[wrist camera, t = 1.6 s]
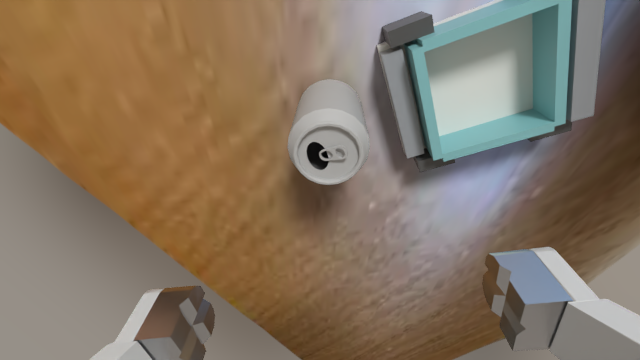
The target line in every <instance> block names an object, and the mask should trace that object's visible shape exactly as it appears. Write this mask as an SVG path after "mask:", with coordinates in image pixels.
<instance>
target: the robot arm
mask: <svg viewBox="0 0 640 360" xmlns="http://www.w3.org/2000/svg"><path fill="white" fill-rule="evenodd" d="M485 265H486V266H487V268H488V271H487V272H486V273H485V274H484V275H483V283H482V285H483V291H484V295H485V298H486V301H487V303H488V305H489V307H490V309H491V311H493V312H494V313H496V314H497V315H499V316H500V317H501V321H500V328H501V330H502V332H503V334H504V335H505V337H506V339H507V341H508V343H509V345H510V347H511V349H512V350H513V351H520V350H540V349H550V352H551V353H553V354H554V355H555V356H556V357H557V358H558V359H560V360H640V316H639V315H638V314H636V313H634V312H632V311H630V310H628V309H626V308H624V307H622V306H620V305H618V304H616V303H614V302H612V301H610V300H608V299H599V298H598V297H597V296H596V294H595V293H594V292H593V291H592V290H591V289H590V288H589V287H588V286H587V285H586V283H585V282H584V281H583V280H582V279H581V278H580V277H579V276H578V275H577V274H576V272H575V271H574V270H573V269H572V268H571V267H570V266H569V265H568V264H567V263H566V261H565V260H564V259H563V258H562V257H561V256H560V255H559V254H558V253H557V252H556V250H555V249H553V248H551V247H543V248H534V249H528V250H527V249H523V250H515V251H506V252H498V253H490V254H488V255H487V257H486V261H485ZM204 294H205V292H204V291H203V289H202V288H201V286H186V287H174V288H164V289H153V290H149V291H147V292H146V293H145V294H144V295H143V297H142V298H141V299H140V301H139V303H138V305H137V306H136V308H135V309H134V311H133V313H132V314H131V316H130V317H129V319H128V321H127V322H126V324H125V326H124V327H123V329H122V331H121V333H120V334H119V336H118V338H117V339H116V340H115V342H114V343H111V344H108V345H107V346H105V347H104V348H103V349H102V350H101V351H99V352H98V353H97V354H96V355H94V356H93V357H92V358H91V359H90V360H203V358H204V355H205V352H206V350H205V347H204V342H206V340H207V339H208V338H209V337H210V336H211V334H212V331H213V328H214V319H215V314H214V310H213V307H212V305H211V303H210V302H208V301H206V300H205V299H203V297H204Z"/></svg>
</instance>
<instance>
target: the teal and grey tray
mask: <svg viewBox="0 0 640 360" xmlns="http://www.w3.org/2000/svg"><path fill="white" fill-rule="evenodd" d="M605 1H606V0H494V1H491V2H489V3H486V4H483V5H481V6H478V7H476V8H473V9H470V10H468V11H465V12H462V13H460V14H457V15H454V16H452V17H449V18H446V19H444V20H441V21H439V22H436V23H433V19H432V15H430V14H427V13H424V12H419V13H416V14H413V15H411V16H408V17H406V18H403V19H401V20H398V21H396V22H393V23H390V24H388V25H385V26H383V27H382V29H383V33H384V37H385V41H386V42H383V43H380V44H378V45H376V46H377V50H378V54H379V58H380V62H381V66H382V70H383V74H384V77H385V81H386V85H387V89H388V93H389V97H390V101H391V105H392V109H393V113H394V117H395V121H396V125H397V129H398V133H399V137H400V141H401V144H402V148H403V151H404V153H405V154H406V157H407V158H411V157H413V158H414V160H415V162H416V164H417V167H418V169H419V171H420V172H423V171H426V170H430V169H433V168H437V167H441V166H444V165H448V164H451V163H455V159H456V158H459V157H463V156H466V155H470V154H474V153H477V152H481V151H484V150H488V149H491V148H495V147H499V146H502V145H506V144H509V143H513V142H516V141H520V140H524V139H528V140H529V141H530V142H531V141H534V140H538V139H542V138H545V137H549V136H552V135H556V134H560V133H563V132H567V131H571V127H572V121H576V120H580V119H583V118H587V117H590V116H594V107H595V98H596V88H597V78H598V69H599V59H600V50H601V40H602V30H603V21H604V11H605Z"/></svg>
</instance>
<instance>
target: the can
mask: <svg viewBox="0 0 640 360" xmlns="http://www.w3.org/2000/svg"><path fill="white" fill-rule="evenodd" d="M369 150H370V145H369V136H368V131H367V127H366V122H365V118H364V114H363V109H362V105H361V101H360V99H359V97H358V95H357V93H356V92H355V91H354V90H353V89H352V88H351V87H350V86H349V85H347V84H346V83H344V82H342V81H338V80H332V79H328V80H321V81H318V82H316V83H314V84H312V85H310V86H309V87H308V88H307V90H306V91H305V92H304V93H303V94H302V97H301V99H300V101H299V103H298V107H297V110H296V114H295V117H294V120H293V124H292V127H291V130H290V134H289V139H288V151H289V155H290V159H291V160H292V162H293V164H294V165H295V167H296V168H297V169H298V170H299V172H300V173H301V174H302V175H303V176H305V177H306V178H307V179H308V180H310V181H313V182H315V183H317V184H323V185H334V184H340V183H342V182H345V181H347V180H349V179H350V178H351V177H353V176H354V175H355V174H356V173H357V172H358V171H359V170H360V169H361V167H362V166H363V165H364V163H365V162H366V160H367V157H368V153H369Z"/></svg>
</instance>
